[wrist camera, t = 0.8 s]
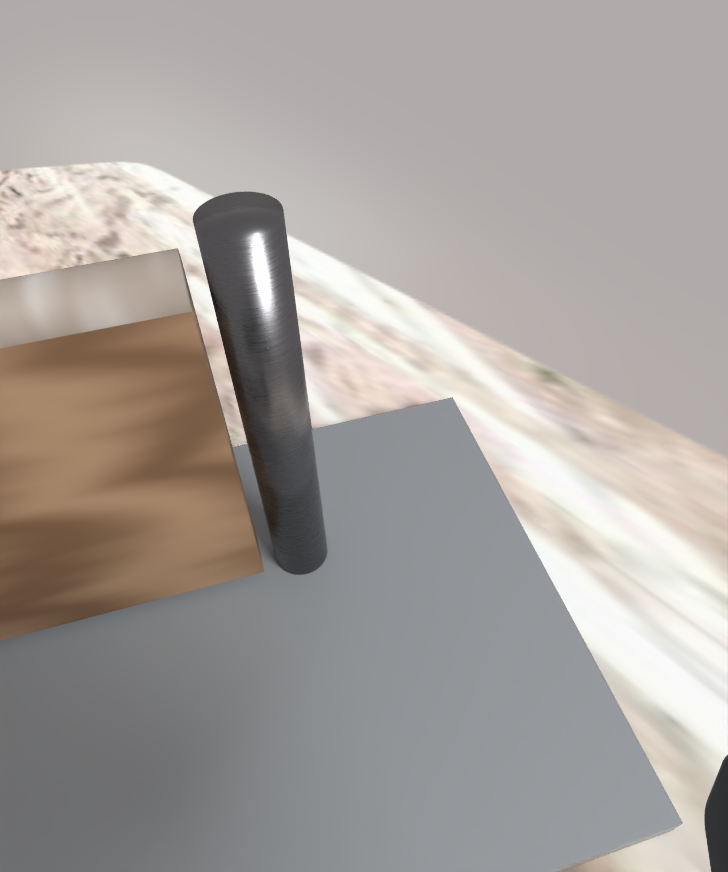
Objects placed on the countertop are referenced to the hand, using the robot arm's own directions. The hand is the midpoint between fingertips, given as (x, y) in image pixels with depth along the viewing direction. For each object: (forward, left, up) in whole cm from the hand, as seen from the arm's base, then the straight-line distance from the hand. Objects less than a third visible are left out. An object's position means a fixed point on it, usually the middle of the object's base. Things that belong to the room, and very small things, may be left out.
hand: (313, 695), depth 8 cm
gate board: (+1, +9, -15) cm, 17 cm away
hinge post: (+6, +9, -14) cm, 17 cm away
